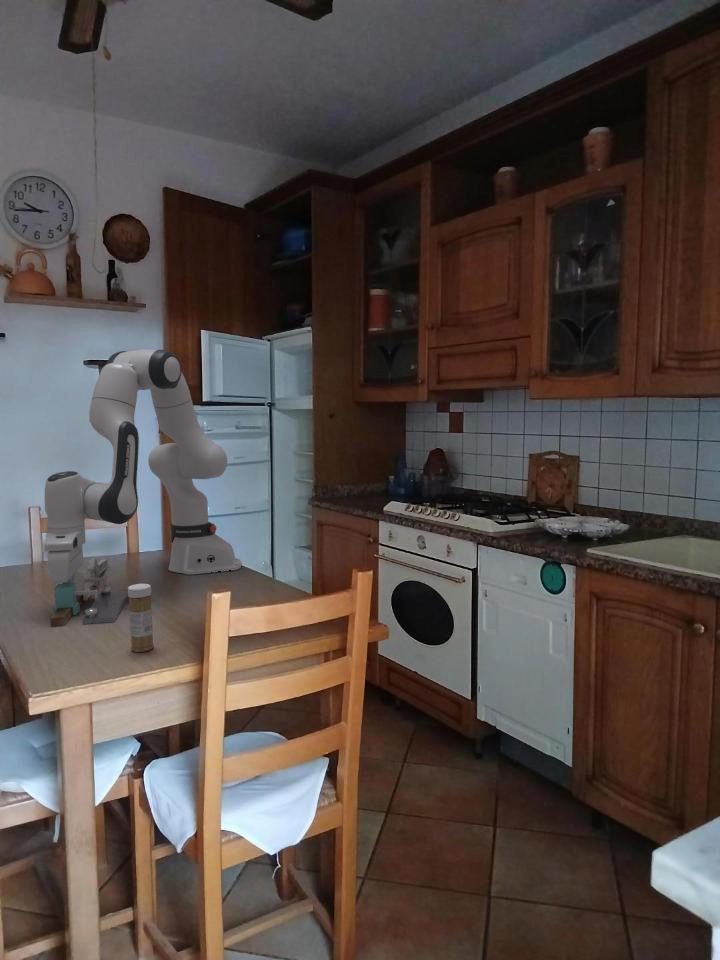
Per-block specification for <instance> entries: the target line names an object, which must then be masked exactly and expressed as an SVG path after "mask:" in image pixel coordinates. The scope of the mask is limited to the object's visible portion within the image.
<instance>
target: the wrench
mask: <svg viewBox="0 0 720 960" xmlns="http://www.w3.org/2000/svg"><path fill="white" fill-rule="evenodd" d="M87 561H88V563H87V572H90V573H89V574H90V578H100V575H101V574H102V573H103V572H104V571H106V570H107V569H108V568H107V567H109V566H108V565H109V562H108V561H109V560H108V558H106V559H105V558H104V559H103V558H101V559H100V560H99V561H97V559H96V558H90V559H88V560H87ZM89 584H91V587H98V586H99V581H98V582H89Z"/></svg>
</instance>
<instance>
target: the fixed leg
mask: <svg viewBox="0 0 720 960" xmlns="http://www.w3.org/2000/svg"><path fill="white" fill-rule="evenodd" d="M107 580H108V578H107V577H99V578H91V577H90V578H88V577H87V571H86V570H77V571H76V573H75V580H74V583H76V591H90V588H88V586H87V585H88V584H87V583H90V582H98V583H99V582H103V587H107V585H108V582H107ZM90 597H91V594H90V595H83V601H87V600H88V599H89V598H90Z"/></svg>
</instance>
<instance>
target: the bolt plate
mask: <svg viewBox="0 0 720 960" xmlns="http://www.w3.org/2000/svg"><path fill="white" fill-rule="evenodd" d="M128 597H129V596H128V590H122V591H112V587H111V586H107V587H104V586H100V588H99V593H98V600H96V601H95V600H94V602H93V603H92V605H91V606H90V607H87V608H85V610H84V612H85V615H84V616H83V618H82V625H91V623H94V624H105V623H107V622H108V623H115V621H116V620H117V618H118V616H119V614H120V612H121V610H122V608H123V606H124V604H125V602H126V600H127V598H128Z"/></svg>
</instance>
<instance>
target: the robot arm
mask: <svg viewBox="0 0 720 960" xmlns="http://www.w3.org/2000/svg"><path fill="white" fill-rule="evenodd" d="M146 390H149V391H150V394H151V395H150V397H151V400H152V404H153V409H154V413H155V417H156V418H157V419H156V420H157V423H158V427H159V429H160V431H161V432H162V433H163V434H164V435H166V436H167V437H169V438H171V439H172V440H173V441H174V442H171V443H170V442H169V443H164V444H163V443H162V444H160V445H157V446H154V447H153V448H152V449H151V451H150V452H149V455H148V466H149V469H150V471H151V472H152V474H153V475H154V476H156V477H157V478H158V479H159V480H160V481H161V483H162V484H163V486H164V488H165V490H166V493H167V496H168V499H169V503H170V513H171V523H170V529H169V532H170V533H169V534H170V542H171V554H170V559H169V564H168V568H167V570H168V571H170V572H172V573H178V574H179V573H180V574H184V575H191V576H192V575H200V574H209V573H211V572H212V573H219V572H218V571H221V572H228V571H229V570H231V571H237V570H239V569H241V568H242V567H243V562H242V560H241V559H240V558H238V557H236V556H235V551H234V548H233V546H232V544H230V542H228V541H226V540H225V539H223V538H222V537H221V536H219V535H217V534H216V531H217V526H216V525H215V524H214V523H212V522H210V521H209V507H208V506H209V502H208V498H207V496H206V494H204V493H203V492H202V491H200V490H199V489H197V487H196V486H195V484H194V482H193V480H209V479H215V478H219V477H221V476H223V474H224V473H225V471H226V469H227V466H228V455H227V453H226V451H225V450H224V448H223V447H222V446H220V445H218V444H217V443H216V442H214V441H213V440H212V439H211V438H210V437H209V436H208V435H207V434H206V432H205V431H204V429H203V428H202V427H201V424H200V422H199V420H198V417H197V414H196V411H195V408H194V404H193V399H192V395H191V391H190V388H189V385H188V384H187V380H186V378H185V376H184V374H183V371H182V365H181V362H180V360H179V358H178V357H177V355H176V354H175V353H173V352H171V351H169V350H165V349H150V348H147V349H146V348H141V349H137V350H136V349H135V350H129V351H127V350H121V351H117V352H115V353H113V354H111V355H110V356H109V357H108V359H107V360H106V364H105V365H104V366H103V367H102V368H101V370H100V372H99V375H98V377H97V380H96V383H95V385H94V389H93V392H92V396H91V401H90V405H89V412H88V414H89V415H88V417H89V418H88V419H89V422H90V425H91V426H92V428H93V430H94V431H95V432H97V434H99V435H100V436H102V437H103V438H105V439H106V440H108V441H109V442H110V444H111V446H112V448H113V449H112V450H113V457H112V471H111V480H110V482H109V483H106V482H105V483H104V482H96V481H94V480H90V479H88V478H86V477H83V476H82V475H81V474H80V473H79V471H74V470H69V471H60V472H56V473H54V474H51V475H50V476H49V477H47V479H46V482H45V485H44V510H45V514H46V518H47V520H46V524H45V531H46V533H45V534H46V535H45V537H46V539H45V542H44V544H43V547H44V551H45V552H47V556H46V557H47V566H48V567H47V568H48V572H49V579H50V581H51V583H53V584H67V583H74V580H75V573H76V571H79V570H80V569H81V567H82V566H83V564H84V551H83V545H84V544H86V524H85V520H86V519H87V520H94V521H100V522H107V523H111V524H114V525H123V524H125V523H127V522H129V521H130V520H131V519H132V518H133V516H135V513H136V512H137V510H138V507H139V506H138V504H139V497H138V489H137V488H138V487H137V479H138V478H137V477H138V464H139V447H140V446H139V444H140V437H139V432H138V431H139V430H138V428H137V427H136V425H135V414H136V413H135V412H136V406H137V400H138V399H137V398H138V392H139V391H146ZM241 566H242V567H241ZM229 572H230V571H229Z"/></svg>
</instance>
